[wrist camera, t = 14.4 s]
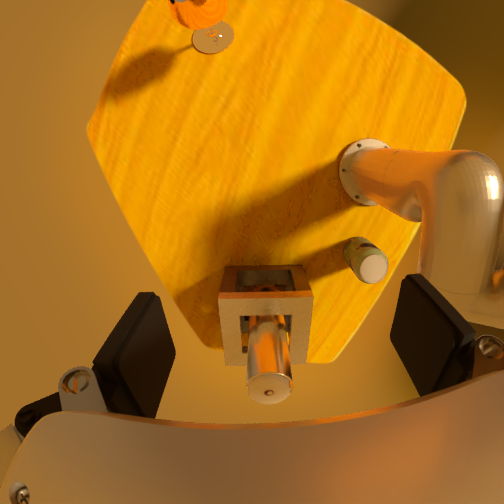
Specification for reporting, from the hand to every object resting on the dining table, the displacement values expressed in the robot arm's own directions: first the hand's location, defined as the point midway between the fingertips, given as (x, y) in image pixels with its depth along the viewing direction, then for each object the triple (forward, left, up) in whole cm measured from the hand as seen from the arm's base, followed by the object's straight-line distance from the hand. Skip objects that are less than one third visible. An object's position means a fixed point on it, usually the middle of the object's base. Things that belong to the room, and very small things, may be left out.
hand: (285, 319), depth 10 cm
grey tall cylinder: (0, +24, -40) cm, 47 cm away
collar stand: (0, +24, -40) cm, 47 cm away
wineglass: (+8, -28, -40) cm, 50 cm away
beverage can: (-18, +13, -40) cm, 46 cm away
